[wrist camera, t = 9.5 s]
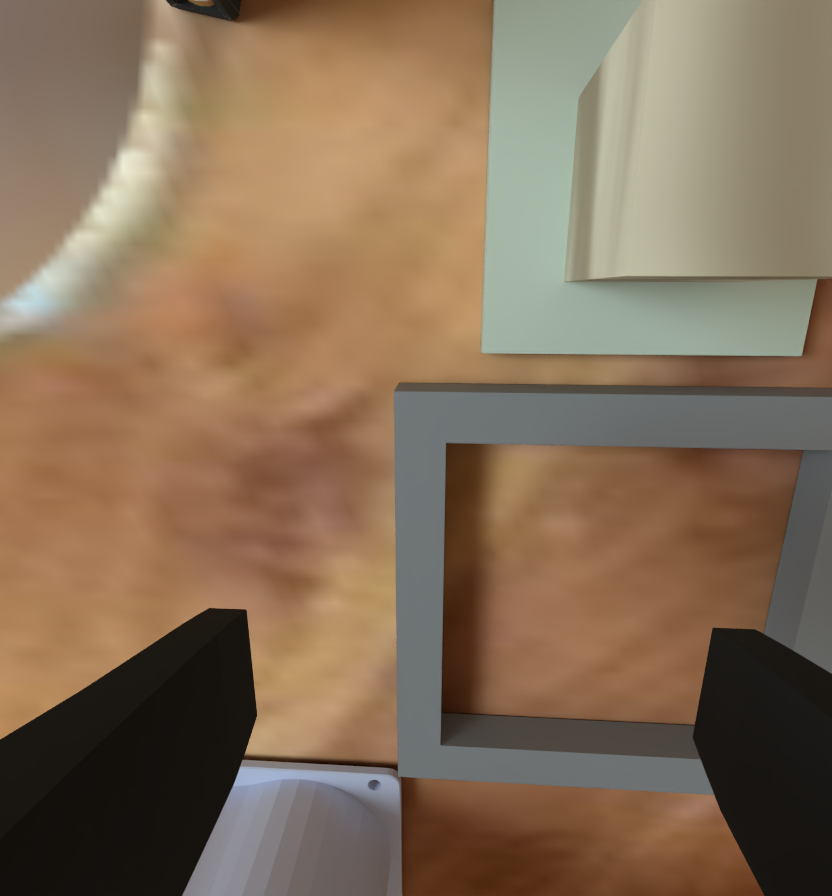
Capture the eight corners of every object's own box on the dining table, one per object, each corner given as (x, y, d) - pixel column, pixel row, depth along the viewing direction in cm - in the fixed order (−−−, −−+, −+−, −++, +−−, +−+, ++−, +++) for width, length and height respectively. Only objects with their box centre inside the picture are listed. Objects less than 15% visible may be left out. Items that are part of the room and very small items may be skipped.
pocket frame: (401, 742, 21) (398, 776, 19) (399, 382, 17) (394, 391, 15) (778, 763, 20) (804, 799, 18) (869, 388, 16) (911, 398, 14)
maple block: (563, 281, 15) (625, 276, 10) (578, 97, 14) (658, -26, 8) (729, 282, 15) (886, 276, 9) (760, 94, 13) (962, -35, 8)
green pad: (480, 351, 16) (481, 353, 16) (493, -4, 14) (495, -17, 13) (789, 353, 16) (801, 355, 15) (862, -17, 13) (880, -30, 12)
